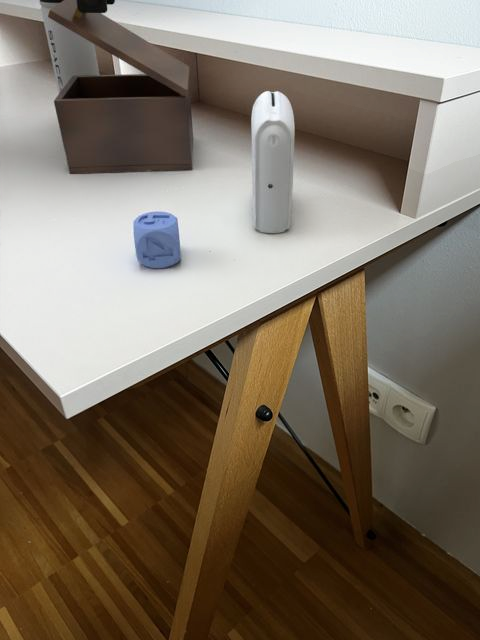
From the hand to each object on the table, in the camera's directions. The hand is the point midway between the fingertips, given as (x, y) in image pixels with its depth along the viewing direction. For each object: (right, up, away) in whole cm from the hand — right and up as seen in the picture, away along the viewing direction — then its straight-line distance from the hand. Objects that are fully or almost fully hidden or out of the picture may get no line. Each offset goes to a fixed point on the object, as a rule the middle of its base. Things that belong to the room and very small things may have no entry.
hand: (97, 6), depth 65 cm
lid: (+3, -3, +3) cm, 5 cm away
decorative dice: (+9, -32, -11) cm, 35 cm away
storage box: (+2, -14, +11) cm, 18 cm away
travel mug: (-8, -6, +21) cm, 23 cm away
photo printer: (+20, -25, -3) cm, 33 cm away
